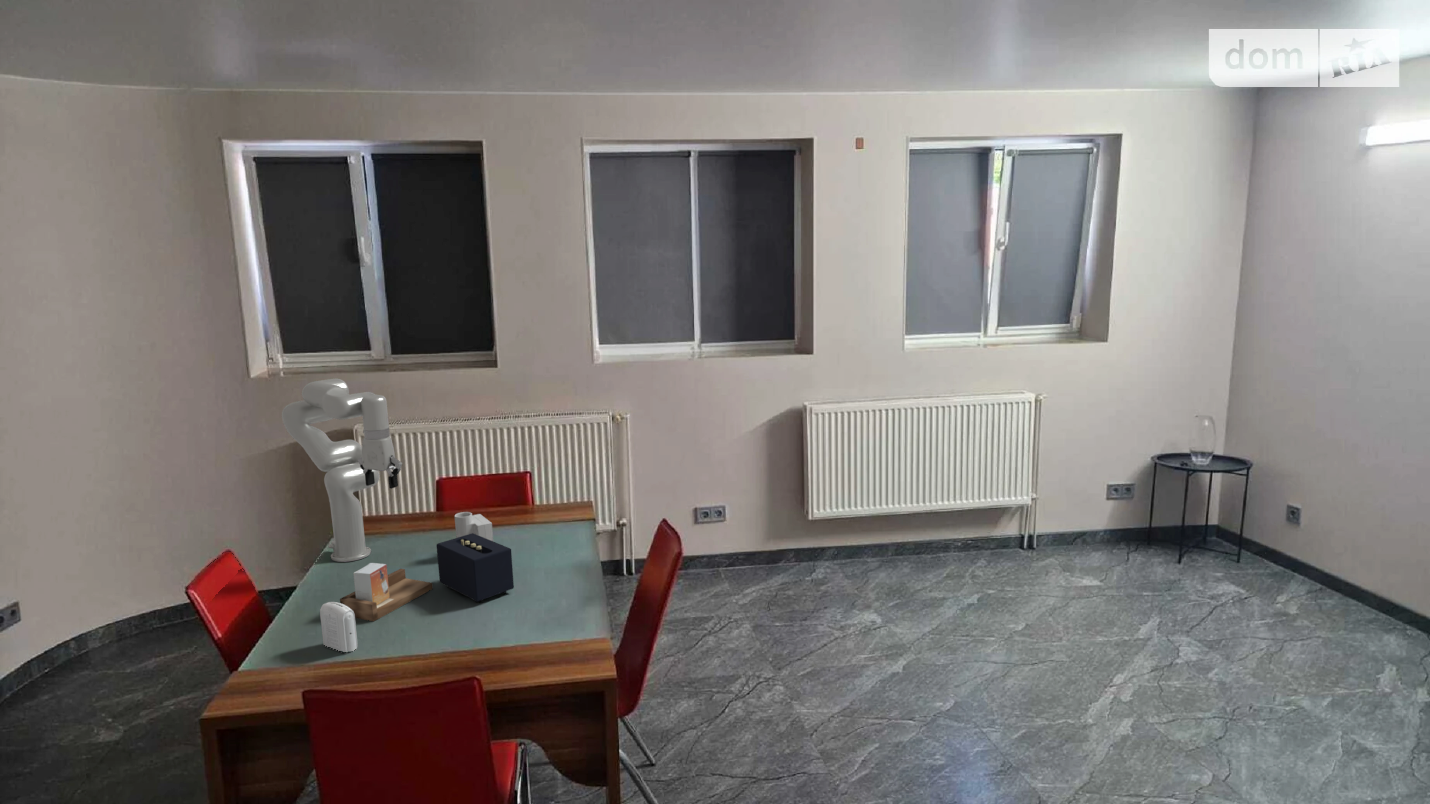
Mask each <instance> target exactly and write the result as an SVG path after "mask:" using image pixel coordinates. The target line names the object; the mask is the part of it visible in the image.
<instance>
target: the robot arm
mask: <svg viewBox="0 0 1430 804" xmlns="http://www.w3.org/2000/svg"><path fill="white" fill-rule="evenodd" d="M301 397H302V399H303V400H298V401H293V402H290V403H289V404H287V405H285V407H284V408H283V409H282V411H281V420H282V424H283V425H284V428H285V430H286V432H287V433H288V434H289V436H290V437H292V439H293V440H294V441H296V443H297V444H299V445H300V446H301V448H303V450H304V451H305V453H306V454H307V455H308V457H309V458H310V460H311V461H312V463H314V465H315V466H316V467H317V468H318V470H320V471H321V472H325V475H324V478H323V482H324V486H325V489H326V493H327V496H328V501H329V507H330V514H331V515H330V516H331V521H332V523H331V525H332V531H333V540H332V541H331V542H330V543H329V544H328V549H333V552H332V553H331V554H330V557H331V561H333V562H338V563H348V562H354V561H359V560H362V559H364V558H367V557H369V556H370V555H371V554H372V549H371V548H370V547H368V546H366V538H365V529H364V518H363V509H362V508H363V507H362V504H361V503H362V502H360V500H359V498H357V497H356V496H355V495H354V493H355V492H356V493H357V492H358V491H362V490H365V489H369V488H372V487H374V486H376V485H377V484H378V483H379V481H380V477H381V476H380V472H385V471H386V473H388V477H387V478H388V487H389V489H391V490H392V489H395V488H397V487H399V481H398V475H399V473H400V472H401V468H402V466H403V462H402V461H400V460H399V459H397V458H396V453H395V448H394V444H393V441H392V437H391V433H390V423H389V422H390V421H389V414H388V413H389V412H388V401H387V398H386V397H385V396H384V395H383V394H375V393H374V392H371V391H365V392H364V391H363V392H358V393H357V392H356V393H351V394H350V389H349V386H348V383H346V381H344V380H343V379H340V378H337V377H335V378H328V379H321V380H315V381H311V382H308V383H307V384H305V386H304V387H303V388H302V391H301ZM360 417H362V428H363V430H362V433H363V437H364V438H363V439H362V442H361V443H362V444H360V443H359V442H358V441H356V440H354V439H343V440H339V441H332V440H331V439H330V438H329V437H328V435H327V434H326V432H325V431H323V430H322V429H320V428H318V427H315V426H313V425H311V424H318V423H322V422H327V421H331V420H333V419H335V420H349V419H354V418H355V419H356V418H360ZM379 471H380V472H379Z"/></svg>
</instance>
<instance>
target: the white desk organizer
mask: <svg viewBox="0 0 1430 804" xmlns="http://www.w3.org/2000/svg"><path fill="white" fill-rule="evenodd" d="M454 524H455V526H454V528H455V538H458V537H461V536H465V535H468V534H472V533H474V534H476V535H479V536H481V537H483V538H486V539H488V540H491V541H493V542H494V533H493V523H492V522H491V521H490V520H488V518H486V517H485V516H483V515H482V514H481V513H477V514H473V513H472V512H470V511H463V512H462V511H461V512H457V513H455V515H454Z"/></svg>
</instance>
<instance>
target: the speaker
mask: <svg viewBox="0 0 1430 804" xmlns="http://www.w3.org/2000/svg"><path fill="white" fill-rule="evenodd" d="M436 552H437V553H436V554H437V567H438V577H439V583H440V584H441V585H444V586H446V587H447V588H448V589H452V590H454V592H457V593H460V594H461V595H464V596H465V597H467V598H470V599H471V600H473V601H475V603H478V604H479V603H481V602H483V600H486V599H488V598H491V597H494V596H497V595H499V594H501V593H504V594H506V593H507V591H511V590H513V589H514V588H515V585H514V572H513V571H514V570H513V559H512V558H513V557H512V549H511V548H510V547H508V546H506V545H503V544H501V543H497V542H495V541H494V540H493V541H491V540H488V539H486V538H483V537H481V536H479V535H476V534H474V533H472V534H468V535H465V536H461V537H458V538H456V537H455V538H451V539H449V540H445V541H441V542H438V543H436Z"/></svg>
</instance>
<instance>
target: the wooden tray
mask: <svg viewBox="0 0 1430 804" xmlns="http://www.w3.org/2000/svg"><path fill="white" fill-rule="evenodd" d="M387 575H388V586H389V598H388V599H386V600H385V601H383V602H381V603H380V604H378V605H377V604H376V602H370V601H365V600H360V599H356V594H355V591H352V592H351V593H349V594H347V595H345V596H343V597H341V598H339V603H341V604H344V605H346V606H347V607H349V608H350V609H351V610H352V611H353V612H354V614H355V619H359V620H365V621H368V620H369V621H370V622H375V621H377V620H380V618H383V617H385V616H387V615H388V614H390V613H392V612H394V611H395V610H398V609H399V608H401V607H402V606H404V605H406V604H408V603H410V602H411V600H412V601H414V600H415V599H418V598H419V597H421V596H422V595H424V594H427V593H428V592H430V591H431V590H433V582H430V581H424V580H419V579H412V578H407V576H406V569H405V568H399V569H397V570H395V571H393V572H391V573H389V574H387ZM429 590H430V591H429ZM369 621H368V622H369Z"/></svg>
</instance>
